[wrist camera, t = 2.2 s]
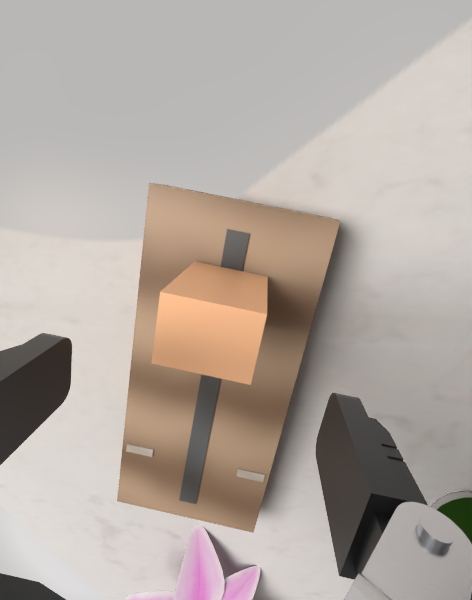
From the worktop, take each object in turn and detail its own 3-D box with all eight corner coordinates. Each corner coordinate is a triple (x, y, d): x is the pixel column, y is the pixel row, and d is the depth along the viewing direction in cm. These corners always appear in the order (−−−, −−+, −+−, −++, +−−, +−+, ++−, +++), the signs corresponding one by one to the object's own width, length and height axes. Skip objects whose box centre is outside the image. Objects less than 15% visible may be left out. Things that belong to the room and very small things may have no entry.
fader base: (163, 184, 20) (148, 183, 17) (331, 218, 19) (340, 221, 17) (130, 473, 26) (116, 502, 24) (254, 501, 26) (253, 533, 24)
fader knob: (194, 261, 18) (160, 292, 12) (267, 276, 18) (267, 314, 12) (186, 312, 19) (151, 363, 13) (256, 327, 19) (250, 385, 13)
